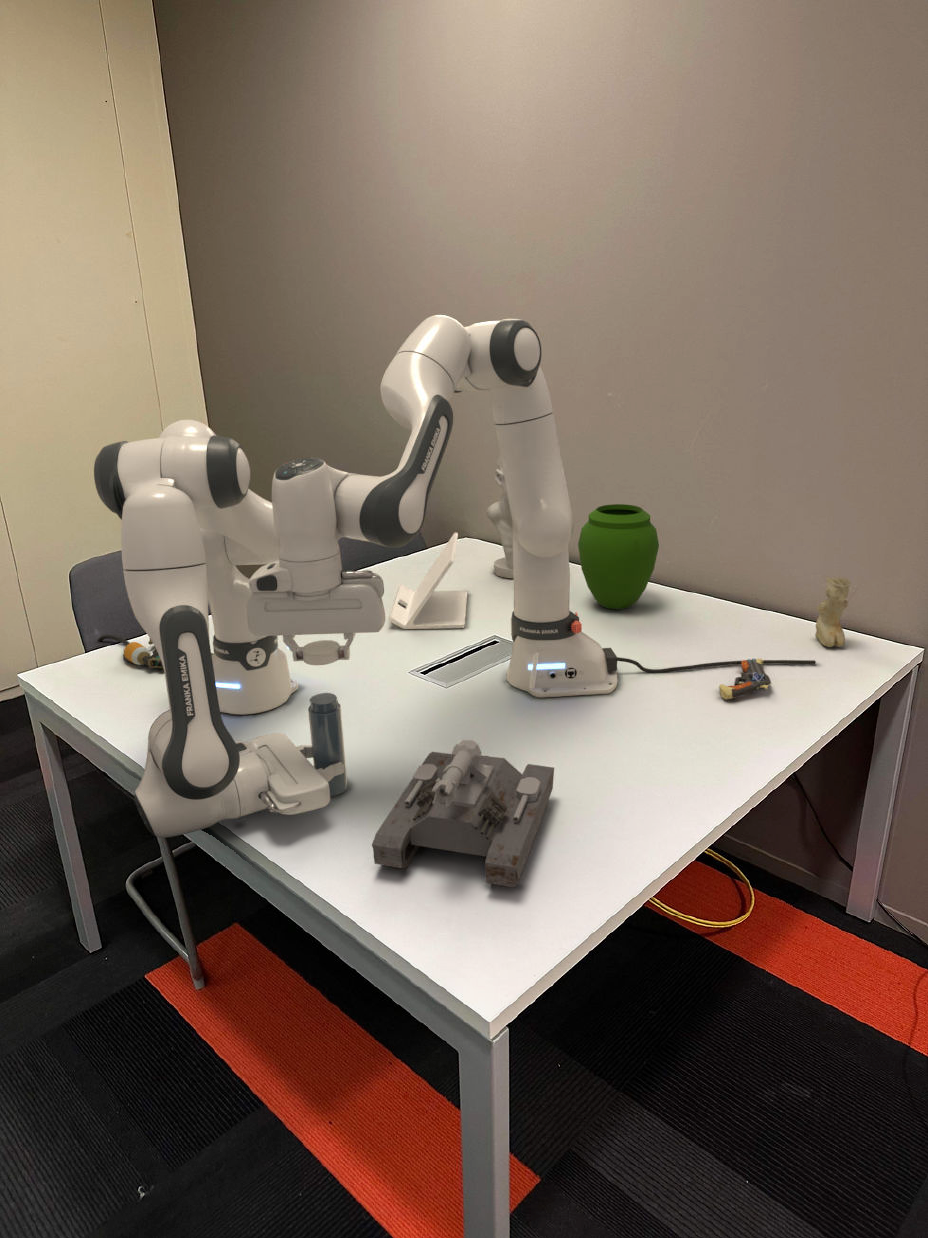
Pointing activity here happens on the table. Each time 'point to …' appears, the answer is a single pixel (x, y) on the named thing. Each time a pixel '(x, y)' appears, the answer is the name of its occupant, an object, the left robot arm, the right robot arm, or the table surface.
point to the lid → (320, 652)
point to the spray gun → (142, 655)
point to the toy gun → (747, 680)
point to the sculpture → (832, 613)
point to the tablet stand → (431, 599)
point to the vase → (618, 554)
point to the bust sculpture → (502, 526)
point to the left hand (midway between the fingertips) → (334, 757)
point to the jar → (327, 737)
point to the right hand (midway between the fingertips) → (321, 659)
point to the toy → (468, 812)
